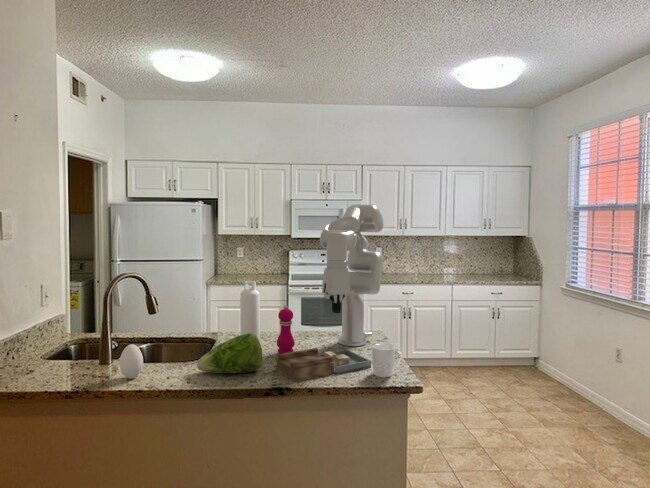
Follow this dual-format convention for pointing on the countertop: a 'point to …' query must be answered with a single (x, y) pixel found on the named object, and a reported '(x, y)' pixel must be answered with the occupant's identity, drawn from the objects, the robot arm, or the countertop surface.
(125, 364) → the egg
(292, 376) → the brown wooden box
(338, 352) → the tray
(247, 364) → the lettuce
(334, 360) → the chip
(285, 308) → the pepper mill
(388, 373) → the white cup
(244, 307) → the bottle
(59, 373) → the countertop surface
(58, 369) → the countertop surface
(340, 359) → the chip
